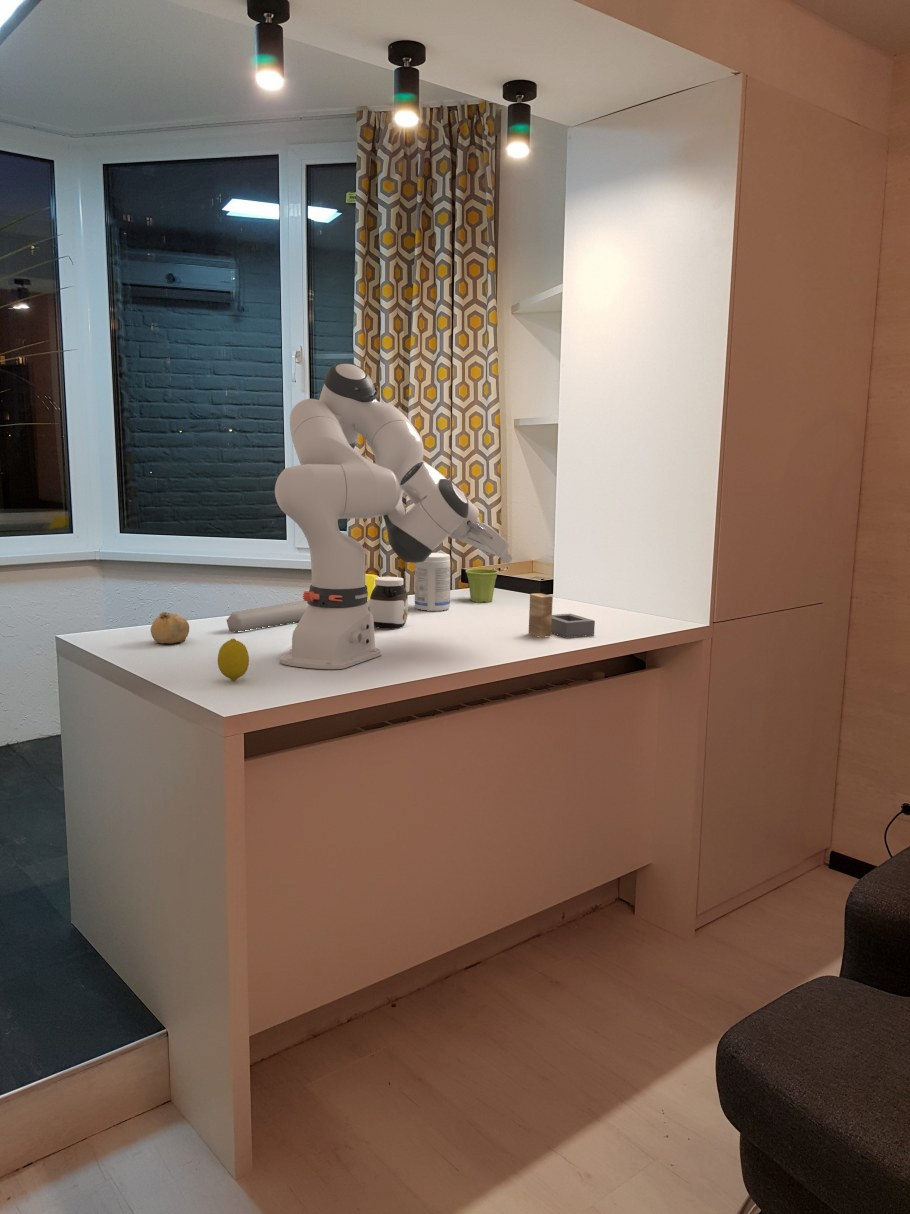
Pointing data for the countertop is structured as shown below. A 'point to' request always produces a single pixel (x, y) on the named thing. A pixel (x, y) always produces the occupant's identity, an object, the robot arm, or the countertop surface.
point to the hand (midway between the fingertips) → (499, 556)
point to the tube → (266, 616)
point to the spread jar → (388, 603)
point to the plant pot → (481, 584)
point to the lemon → (233, 659)
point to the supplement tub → (433, 583)
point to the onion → (169, 628)
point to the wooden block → (540, 614)
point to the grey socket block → (572, 625)
